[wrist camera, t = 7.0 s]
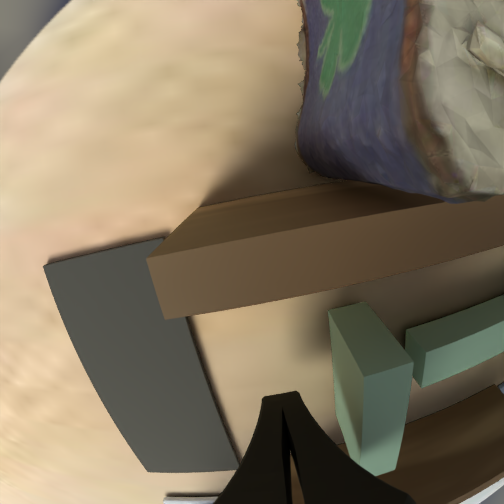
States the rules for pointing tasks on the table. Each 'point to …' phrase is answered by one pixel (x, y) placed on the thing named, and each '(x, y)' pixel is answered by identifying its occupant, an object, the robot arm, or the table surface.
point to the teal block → (399, 370)
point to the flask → (405, 95)
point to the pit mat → (141, 360)
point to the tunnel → (340, 275)
